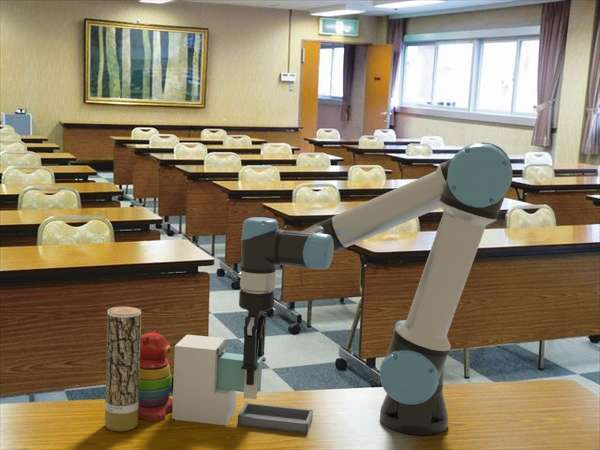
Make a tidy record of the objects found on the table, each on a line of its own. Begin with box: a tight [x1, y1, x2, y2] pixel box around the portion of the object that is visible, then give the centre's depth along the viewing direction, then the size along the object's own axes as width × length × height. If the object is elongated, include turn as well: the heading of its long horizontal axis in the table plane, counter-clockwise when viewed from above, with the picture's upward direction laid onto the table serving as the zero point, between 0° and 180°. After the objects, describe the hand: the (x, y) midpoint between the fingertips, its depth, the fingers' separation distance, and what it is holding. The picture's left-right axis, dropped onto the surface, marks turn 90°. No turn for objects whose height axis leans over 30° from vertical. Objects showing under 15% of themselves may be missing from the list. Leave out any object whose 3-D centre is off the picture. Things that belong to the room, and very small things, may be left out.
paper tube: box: [104, 306, 142, 432], centre depth 161 cm, size 7×7×25 cm
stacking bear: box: [138, 329, 173, 422], centre depth 171 cm, size 11×10×18 cm
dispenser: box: [171, 334, 237, 426], centre depth 170 cm, size 12×9×16 cm
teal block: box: [216, 351, 264, 394], centre depth 169 cm, size 10×4×7 cm, turn 82°
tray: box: [237, 402, 314, 435], centre depth 169 cm, size 15×8×2 cm, turn 82°
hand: (252, 393), depth 169 cm, fingers closed on teal block, 4 cm apart
